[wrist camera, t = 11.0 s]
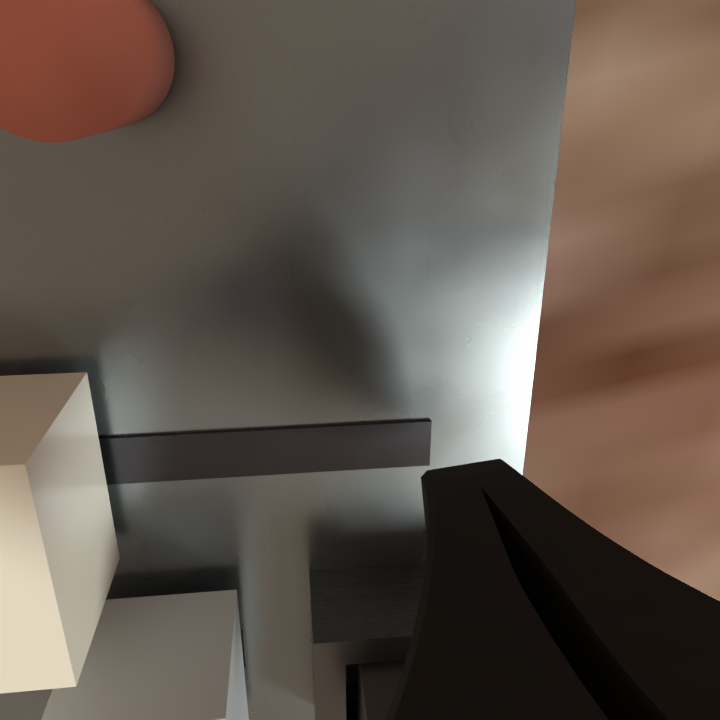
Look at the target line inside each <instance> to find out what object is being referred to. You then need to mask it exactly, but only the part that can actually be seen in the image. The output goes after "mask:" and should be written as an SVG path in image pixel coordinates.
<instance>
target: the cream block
mask: <svg viewBox="0 0 720 720" xmlns="http://www.w3.org/2000/svg"><path fill="white" fill-rule="evenodd" d="M119 559H120V557H119V551H118V546H117V540H116V534H115V528H114V523H113V517H112V511H111V506H110V500H109V494H108V489H107V483H106V477H105V472H104V466H103V460H102V455H101V449H100V443H99V438H98V432H97V426H96V421H95V415H94V409H93V403H92V398H91V392H90V386H89V381H88V375H87V372H80V373H57V374H33V375H10V376H0V693H12V692H23V691H34V690H45V689H56V688H67V687H76V686H77V683H78V680H79V677H80V674H81V671H82V668H83V665H84V662H85V659H86V656H87V653H88V650H89V647H90V645H91V642H92V639H93V636H94V633H95V630H96V627H97V624H98V621H99V618H100V615H101V612H102V609H103V606H104V603H105V600H106V597H107V594H108V592H109V589H110V586H111V583H112V580H113V577H114V574H115V571H116V568H117V565H118V562H119Z"/></svg>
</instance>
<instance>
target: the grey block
mask: <svg viewBox="0 0 720 720" xmlns="http://www.w3.org/2000/svg"><path fill="white" fill-rule="evenodd" d="M41 720H249V716H248V706H247V695H246V684H245V673H244V662H243V651H242V641H241V630H240V619H239V608H238V597H237V590H225V591H212V592H199V593H186V594H173V595H160V596H148V597H135V598H122V599H109V600H105V603H104V606H103V609H102V612H101V615H100V618H99V621H98V624H97V627H96V630H95V633H94V636H93V639H92V642H91V645H90V647H89V650H88V653H87V656H86V659H85V662H84V665H83V668H82V671H81V674H80V677H79V680H78V683H77V686H76V687H67V688H56V689H52V692H51V695H50V697H49V700H48V703H47V705H46V708H45V711H44V713H43V716H42V719H41Z"/></svg>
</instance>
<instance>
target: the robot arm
mask: <svg viewBox="0 0 720 720" xmlns="http://www.w3.org/2000/svg"><path fill="white" fill-rule="evenodd" d="M421 485H422V495H423V506H424V516H425V526H426V537H427V555H426V563H425V570H424V577H423V583H422V590H421V596H420V602H419V607H418V612H417V616H416V621H415V625H414V629H413V633H412V637H411V641H410V645H409V649H408V653H407V656H406V659H405V663H404V666H403V669H402V673H401V676H400V679H399V683H398V686H397V689H396V692H395V695H394V698H393V701H392V704H391V706H390V709H389V712H388V715H387V717H386V720H720V601H718V600H716V599H714V598H712V597H710V596H708V595H706V594H704V593H702V592H700V591H698V590H697V589H695V588H693V587H691V586H689V585H687V584H685V583H683V582H681V581H680V580H678V579H676V578H674V577H672V576H670V575H668V574H666V573H665V572H663V571H661V570H660V569H658V568H656V567H654V566H653V565H651V564H649V563H647V562H646V561H644V560H642V559H641V558H639V557H638V556H636V555H634V554H633V553H631V552H630V551H628V550H626V549H625V548H623V547H622V546H620V545H618V544H617V543H615V542H614V541H612V540H610V539H609V538H608V537H606V536H605V535H603V534H602V533H600V532H599V531H597V530H596V529H594V528H593V527H591V526H590V525H588V524H587V523H585V522H584V521H583V520H581V519H580V518H578V517H577V516H576V515H574V514H573V513H571V512H570V511H569V510H567V509H566V508H564V507H563V506H562V505H560V504H559V503H558V502H556V501H555V500H554V499H552V498H551V497H550V496H549V495H547V494H546V493H545V492H543V491H542V490H541V489H539V488H538V487H537V486H535V485H534V484H533V483H532V482H530V481H529V480H528V479H526V478H525V477H524V476H523V475H521V474H520V473H519V472H517V471H516V470H515V469H514V468H512V467H511V466H510V465H508V464H507V463H506V462H504V461H503V460H502V459H494V460H488V461H481V462H475V463H469V464H463V465H457V466H450V467H444V468H438V469H432V470H427V471H426V472H425V473H424V474H423V475H422V477H421Z"/></svg>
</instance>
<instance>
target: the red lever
mask: <svg viewBox="0 0 720 720" xmlns="http://www.w3.org/2000/svg"><path fill="white" fill-rule="evenodd" d="M174 67H175V57H174V48H173V43H172V39H171V36H170V33H169V30H168V28H167V26H166V23H165V22H164V20H163V18H162V16H161V14H160V13H159V12H158V10H157V9H156V7H155V6H154V5H153V4H152V3H151V2H150V1H149V0H0V128H1V129H3V130H5V131H7V132H9V133H11V134H14V135H16V136H19V137H22V138H25V139H29V140H33V141H39V142H51V143H58V142H68V141H72V140H77V139H81V138H84V137H88V136H92V135H95V134H99V133H103V132H106V131H110V130H113V129H117V128H121V127H124V126H128V125H132V124H134V123H137V122H139V121H141V120H143V119H145V118H147V117H148V116H149V115H151V114H152V113H153V112H154V111H155V110H156V109H157V108H158V107H159V106H160V105H161V103H162V102H163V101H164V99H165V97H166V96H167V94H168V92H169V89H170V86H171V84H172V80H173V75H174Z"/></svg>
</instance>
